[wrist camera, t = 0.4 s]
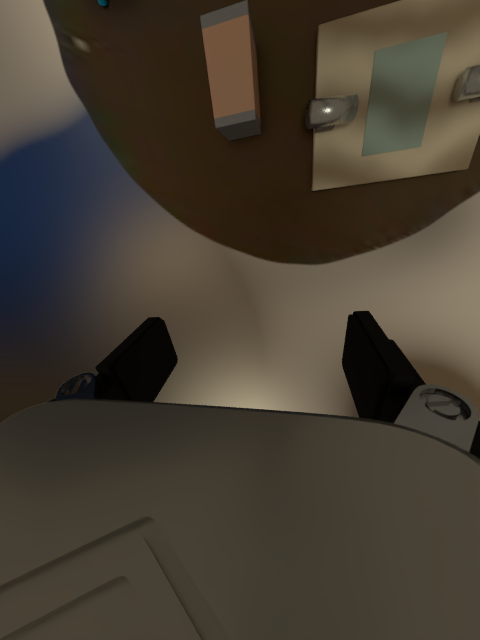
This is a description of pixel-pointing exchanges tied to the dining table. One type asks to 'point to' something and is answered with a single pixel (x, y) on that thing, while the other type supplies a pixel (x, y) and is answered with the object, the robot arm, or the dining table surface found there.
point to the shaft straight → (468, 84)
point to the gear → (102, 2)
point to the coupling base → (397, 92)
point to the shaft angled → (331, 110)
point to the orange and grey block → (232, 70)
